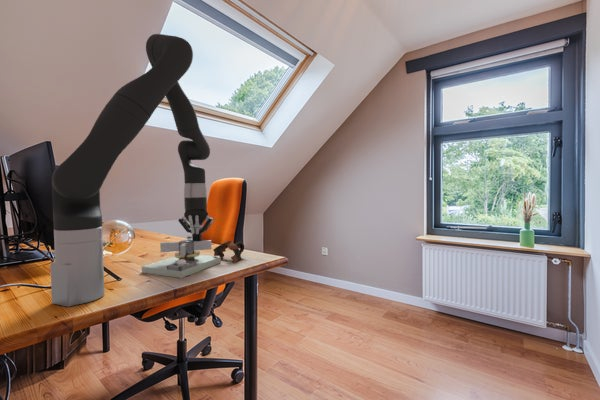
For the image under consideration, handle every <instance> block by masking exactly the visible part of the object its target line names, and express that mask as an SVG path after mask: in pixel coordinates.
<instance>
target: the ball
mask: <svg viewBox="0 0 600 400" xmlns="http://www.w3.org/2000/svg"><path fill="white" fill-rule="evenodd" d="M177 264H178V266H182V265H185V264H186V260H184V259H180V260H179V261H178V263H177Z"/></svg>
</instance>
